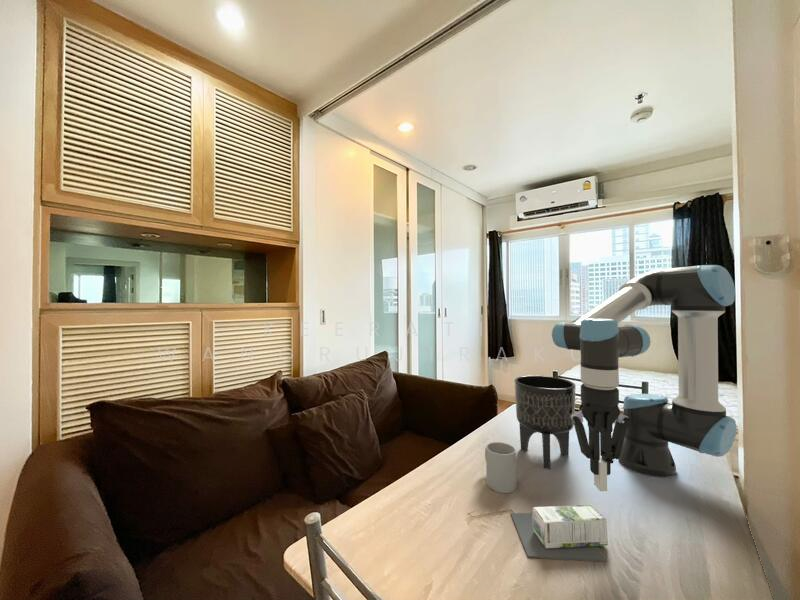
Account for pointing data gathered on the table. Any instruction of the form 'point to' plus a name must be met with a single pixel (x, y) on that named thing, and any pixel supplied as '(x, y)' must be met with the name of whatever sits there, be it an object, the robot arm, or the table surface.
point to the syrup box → (569, 526)
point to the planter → (545, 411)
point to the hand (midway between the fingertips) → (600, 487)
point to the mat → (538, 550)
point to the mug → (500, 467)
